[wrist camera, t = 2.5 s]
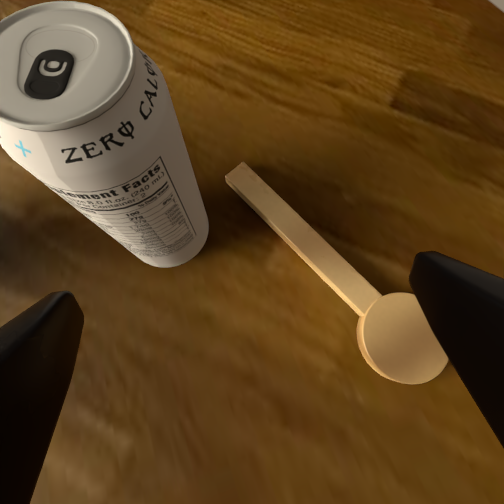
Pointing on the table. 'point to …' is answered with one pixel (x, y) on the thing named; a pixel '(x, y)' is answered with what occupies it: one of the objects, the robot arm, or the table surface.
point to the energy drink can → (99, 128)
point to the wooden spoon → (353, 291)
